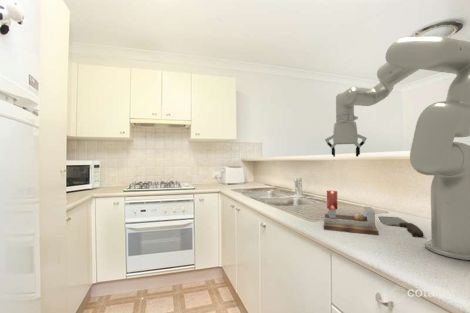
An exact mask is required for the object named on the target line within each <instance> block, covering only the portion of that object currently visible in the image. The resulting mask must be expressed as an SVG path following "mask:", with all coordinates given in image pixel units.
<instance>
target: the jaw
mask: <svg viewBox="0 0 470 313" xmlns="http://www.w3.org/2000/svg"><path fill="white" fill-rule="evenodd" d="M326 209H328V213H329V218H332V219H336V214H337V213H336V212H337V211H336V210H338V191H337V190H326Z"/></svg>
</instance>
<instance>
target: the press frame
mask: <svg viewBox="0 0 470 313" xmlns="http://www.w3.org/2000/svg"><path fill="white" fill-rule="evenodd" d="M354 215H355V214H354ZM354 215H353V214H352V215H351V214H341V213H336V219H332V218H329V212H328V213H327V212H325V213H324V217H323V225H324V224H333V225H344V226H354V227H365V228H368V227H369V228H375V226H376V212H375V210H374V209H373V208H372V207H371V206H363V215H364V217H365V221H355V220H354Z"/></svg>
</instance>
